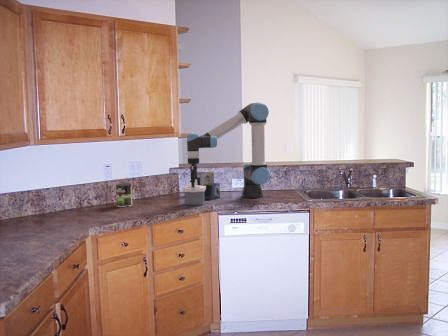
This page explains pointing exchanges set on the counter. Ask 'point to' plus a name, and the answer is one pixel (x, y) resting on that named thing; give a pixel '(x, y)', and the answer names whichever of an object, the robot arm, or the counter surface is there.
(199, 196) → the tub
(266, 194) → the counter surface
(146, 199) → the counter surface
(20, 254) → the counter surface
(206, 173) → the cake pan box
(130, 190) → the multicoloured piece
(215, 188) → the small box
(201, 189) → the lid
